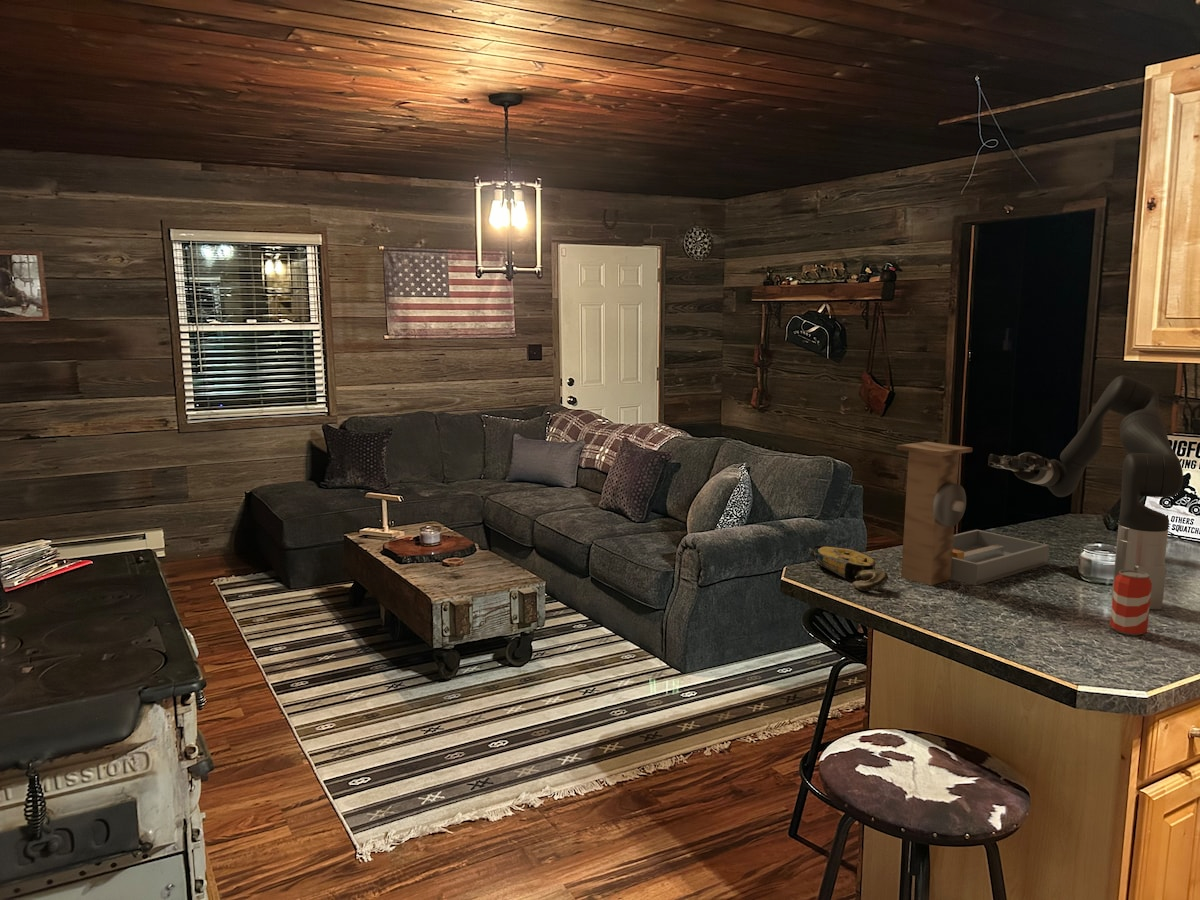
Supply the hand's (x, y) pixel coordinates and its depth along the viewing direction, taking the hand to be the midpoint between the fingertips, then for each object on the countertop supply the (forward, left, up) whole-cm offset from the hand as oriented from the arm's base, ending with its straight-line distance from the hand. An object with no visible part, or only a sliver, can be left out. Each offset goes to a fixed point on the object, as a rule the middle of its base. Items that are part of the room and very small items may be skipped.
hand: (1007, 458), depth 224 cm
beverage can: (-53, -3, -27) cm, 59 cm away
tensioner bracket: (-18, +25, -27) cm, 41 cm away
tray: (-5, +8, -27) cm, 28 cm away
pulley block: (-16, +43, -27) cm, 53 cm away
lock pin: (-5, +9, -26) cm, 27 cm away
